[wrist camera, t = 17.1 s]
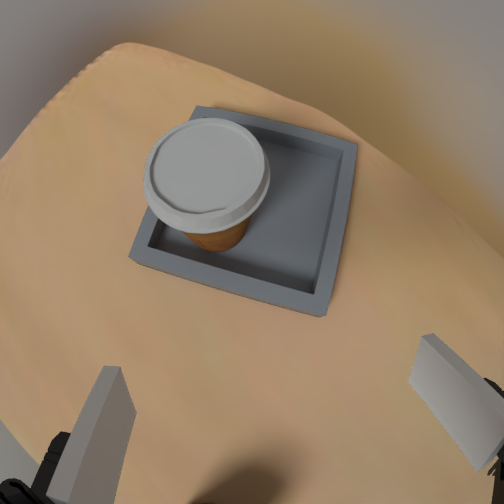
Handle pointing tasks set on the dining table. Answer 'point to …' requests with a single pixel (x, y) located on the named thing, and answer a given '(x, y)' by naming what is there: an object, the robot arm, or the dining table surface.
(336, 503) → the dining table surface
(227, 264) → the slate tray
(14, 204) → the dining table surface
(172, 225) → the disposable coffee cup
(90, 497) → the robot arm
